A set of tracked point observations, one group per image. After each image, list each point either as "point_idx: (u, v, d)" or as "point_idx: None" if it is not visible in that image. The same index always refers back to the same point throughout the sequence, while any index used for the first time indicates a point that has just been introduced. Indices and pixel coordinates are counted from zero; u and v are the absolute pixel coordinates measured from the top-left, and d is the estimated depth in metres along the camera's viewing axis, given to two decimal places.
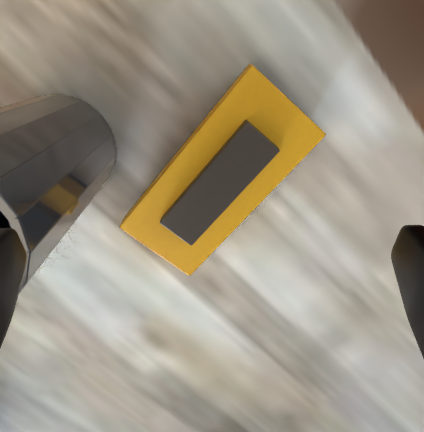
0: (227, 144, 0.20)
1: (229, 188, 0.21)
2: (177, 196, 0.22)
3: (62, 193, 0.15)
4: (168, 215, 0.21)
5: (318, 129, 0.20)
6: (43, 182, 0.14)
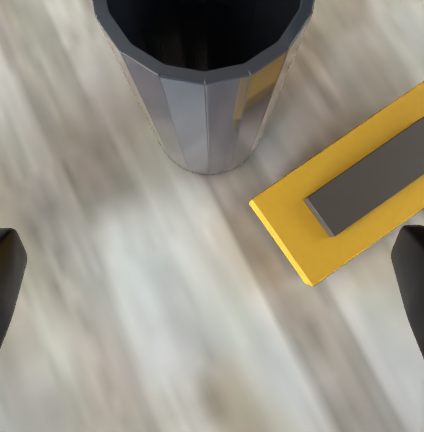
0: (401, 132, 0.19)
1: (394, 178, 0.19)
2: (328, 180, 0.20)
3: None
4: (319, 191, 0.19)
5: None
6: None
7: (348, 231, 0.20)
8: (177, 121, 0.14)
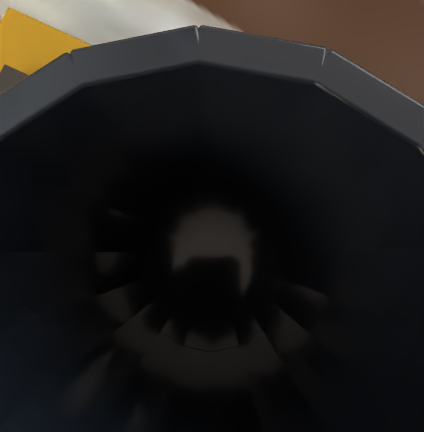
0: None
1: None
2: None
3: None
4: None
5: None
6: None
7: None
8: None
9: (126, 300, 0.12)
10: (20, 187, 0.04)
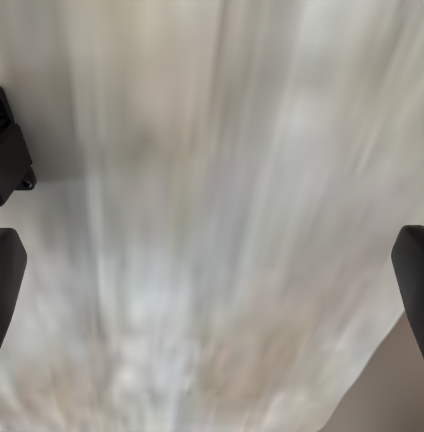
0: None
1: None
2: None
3: None
4: None
5: None
6: None
7: None
8: None
9: None
10: None
